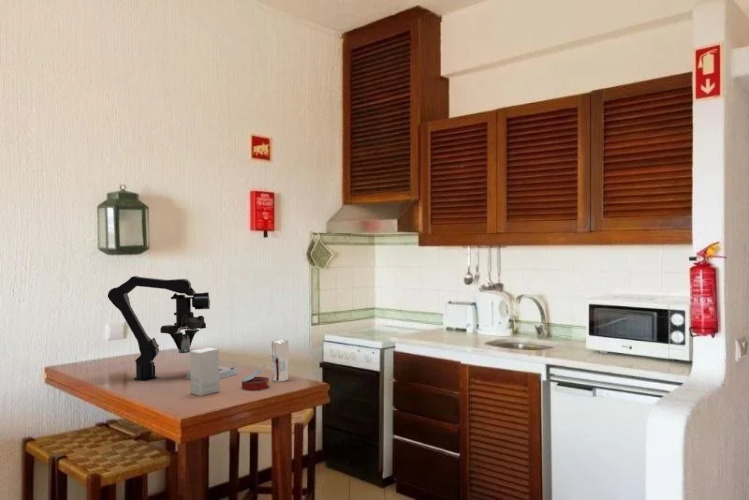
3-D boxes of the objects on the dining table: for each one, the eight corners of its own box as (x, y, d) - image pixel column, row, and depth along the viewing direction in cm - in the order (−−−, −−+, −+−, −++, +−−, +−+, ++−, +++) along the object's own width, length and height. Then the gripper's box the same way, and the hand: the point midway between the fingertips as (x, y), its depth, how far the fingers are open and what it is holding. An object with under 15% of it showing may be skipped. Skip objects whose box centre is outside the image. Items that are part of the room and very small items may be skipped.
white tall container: (285, 382, 228) (285, 343, 228) (268, 381, 229) (268, 342, 229) (291, 378, 235) (291, 340, 235) (275, 377, 236) (274, 340, 236)
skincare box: (209, 389, 218) (209, 346, 218) (220, 391, 214) (220, 348, 214) (189, 393, 212) (189, 350, 212) (200, 396, 207) (199, 351, 207)
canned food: (259, 403, 216) (252, 381, 211) (239, 397, 221) (231, 376, 216) (278, 383, 224) (272, 362, 219) (258, 377, 229) (251, 357, 225)
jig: (207, 381, 231) (207, 374, 231) (186, 378, 237) (186, 371, 237) (237, 374, 244) (237, 367, 244) (217, 371, 251) (217, 364, 251)
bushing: (183, 353, 238) (183, 335, 238) (176, 352, 240) (175, 334, 240) (192, 351, 242) (191, 334, 242) (184, 351, 244) (184, 333, 244)
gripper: (178, 313, 229) (178, 353, 229) (214, 308, 245) (215, 346, 245) (159, 311, 235) (159, 351, 235) (196, 307, 250) (197, 344, 250)
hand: (184, 348), depth 241 cm, fingers closed on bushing, 4 cm apart
